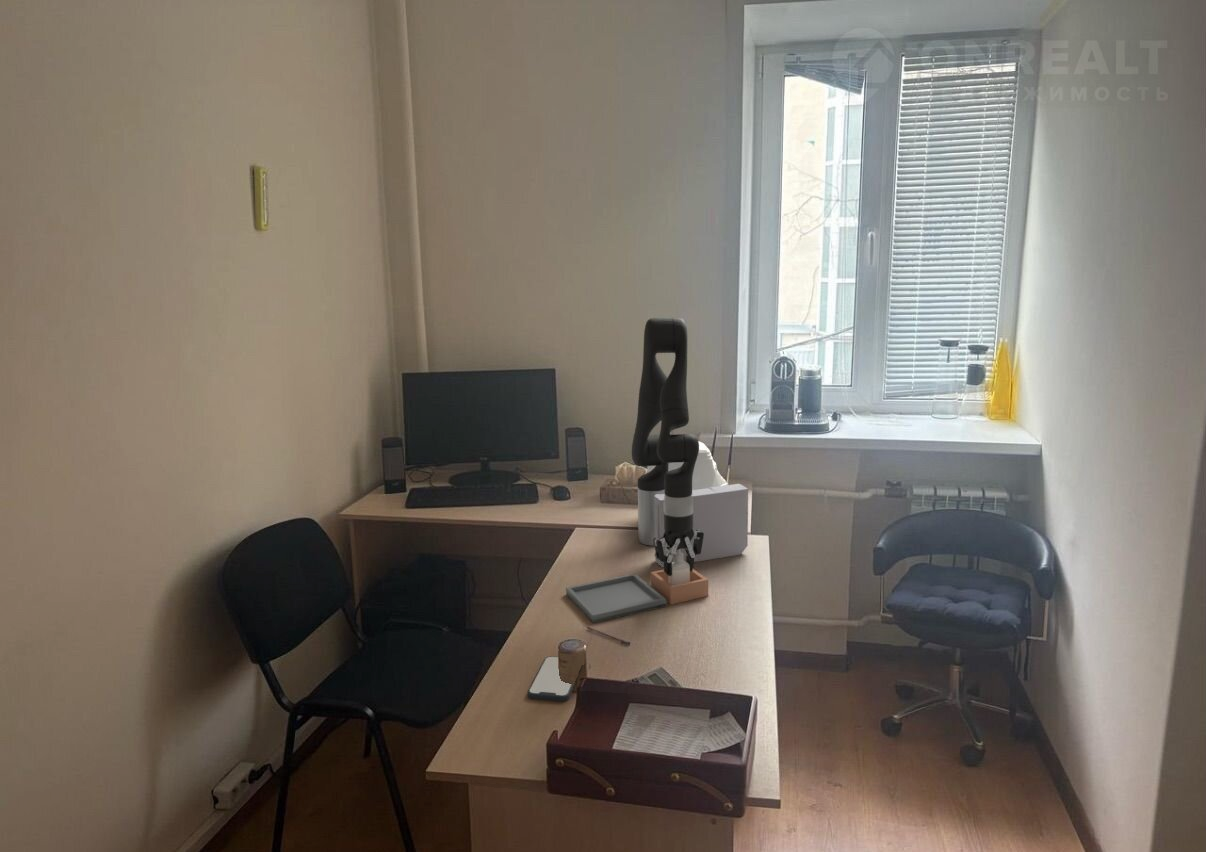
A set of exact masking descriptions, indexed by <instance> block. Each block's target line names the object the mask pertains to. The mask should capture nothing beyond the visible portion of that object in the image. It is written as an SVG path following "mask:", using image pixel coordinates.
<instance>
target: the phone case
mask: <svg viewBox="0 0 1206 852" xmlns="http://www.w3.org/2000/svg"><path fill="white" fill-rule="evenodd" d="M558 657H559V656H552V655H551V656H547V657H545V658H544V660H543V661H542V663H541V666H540V667H539V669H538V671H537V672H536V675H535V677H534V679H533V680H532V682H531V684H530V686H529V688H528V690H527V698H528V699H529V700H535V701H548V702H561V703H563V702H564V703H565V702H567V701H569V700H570V697H571V695H572V693H573V691H574V688H575V687H574V688H573V685H572V684H569V683H565V682H563V681H561V679H560V676H559V669H558Z"/></svg>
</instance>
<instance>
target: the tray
mask: <svg viewBox="0 0 1206 852" xmlns="http://www.w3.org/2000/svg"><path fill="white" fill-rule="evenodd" d="M565 592H566V593H565V594H566V596H567V598H569V600H571V601H572V602H573V604H574V605H575V606H576V607H577V608H578V609H579V610H580V611H581V612H582V613H583V614H584V615H585V616H586V617H587V619H589V620H590V621H591V623H592V624H596V623H600V622H604V621H608V620H613V619H618V618H622V617H625V616H630V615H635V614H639V613H643V612H649V611H652V610H653V611H654V610H657V609H661V608H666V607H667V601H666V598H664V597H663V596H662V595H661V594H659V593H658V592H657V591H656V590H655V589H653V588H652V587H651V584H648V582H646V581H645V580H643V578H641V577H640V576H639V575H637V574H636V573H631V574H626V575H621V576H615V577H611V578H607V579H602V580H597V581H592V582H587V583H581V584H578V585H573V586H567V587H565Z"/></svg>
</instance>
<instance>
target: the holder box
mask: <svg viewBox="0 0 1206 852" xmlns="http://www.w3.org/2000/svg"><path fill="white" fill-rule="evenodd" d="M650 586H651V587H652V588H653V589H655V590H656V591H657V592H658V593H659V594H661V595H662V596H663V597H664V598H666V603H668V604H669V605H675V604H679V603H683V602H687V601H692V600H696V599H700V598H705V597H708V596H709V579H708V578H707V577H705V576H704V575H703V574H701V573H699V572H698V571H697V570H695V569H693V571H690V582H687V583H682V584H677V585H673V586H672V585H671V584H669V583H668V575H667V574H666V573H665V572H664V569H661V570H655V571H651V572H650Z"/></svg>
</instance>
